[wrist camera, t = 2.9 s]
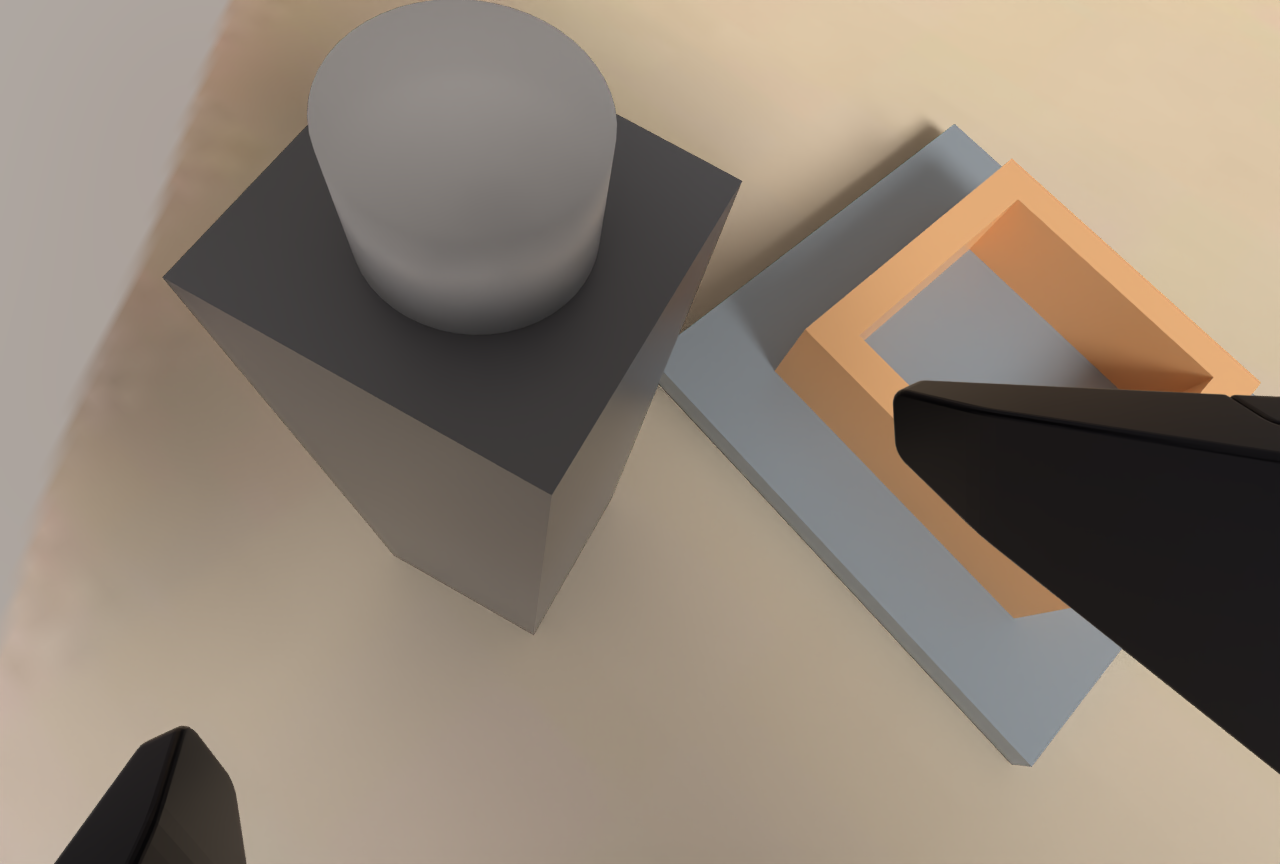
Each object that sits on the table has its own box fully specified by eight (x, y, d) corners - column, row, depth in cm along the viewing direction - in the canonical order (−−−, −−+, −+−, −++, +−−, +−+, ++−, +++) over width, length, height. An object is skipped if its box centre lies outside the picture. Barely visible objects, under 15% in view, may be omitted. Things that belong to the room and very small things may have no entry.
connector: (534, 634, 19) (558, 437, 5) (394, 554, 19) (69, 165, 5) (611, 498, 20) (787, 69, 7) (481, 426, 20) (397, -134, 7)
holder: (1012, 764, 19) (1104, 774, 16) (645, 369, 22) (665, 312, 18) (1266, 436, 24) (1376, 396, 21) (942, 140, 26) (997, 64, 23)
